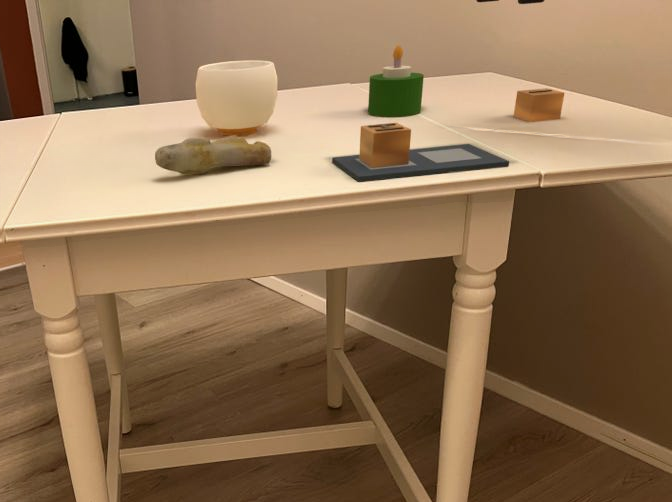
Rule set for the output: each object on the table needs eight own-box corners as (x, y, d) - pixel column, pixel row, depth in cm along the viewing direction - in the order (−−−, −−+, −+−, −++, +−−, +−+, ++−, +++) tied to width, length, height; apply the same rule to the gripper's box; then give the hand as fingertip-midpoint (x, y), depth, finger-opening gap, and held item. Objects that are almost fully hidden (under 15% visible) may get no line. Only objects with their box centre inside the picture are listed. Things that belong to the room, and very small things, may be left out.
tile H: (394, 155, 87) (396, 121, 85) (408, 164, 83) (411, 128, 81) (359, 159, 87) (360, 124, 85) (371, 168, 83) (373, 131, 81)
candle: (357, 114, 116) (360, 48, 111) (387, 105, 120) (391, 41, 115) (401, 118, 110) (406, 49, 105) (430, 109, 115) (436, 42, 110)
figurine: (250, 138, 94) (144, 138, 88) (270, 126, 89) (159, 125, 83) (254, 177, 94) (149, 180, 88) (275, 167, 89) (164, 169, 83)
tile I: (541, 116, 104) (546, 87, 102) (559, 122, 100) (565, 91, 98) (512, 119, 104) (517, 89, 102) (529, 125, 100) (534, 94, 98)
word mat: (468, 148, 91) (468, 143, 90) (508, 166, 82) (509, 160, 82) (331, 162, 89) (332, 156, 89) (358, 181, 80) (358, 175, 80)
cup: (200, 143, 104) (196, 73, 99) (197, 127, 115) (193, 63, 110) (283, 137, 104) (283, 66, 99) (272, 121, 115) (271, 57, 110)
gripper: (611, -183, 73) (580, 1, 81) (518, -155, 88) (499, -2, 97) (544, -179, 73) (519, 6, 81) (462, -151, 88) (447, 3, 96)
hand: (508, 2), depth 89 cm, fingers open, 9 cm apart
